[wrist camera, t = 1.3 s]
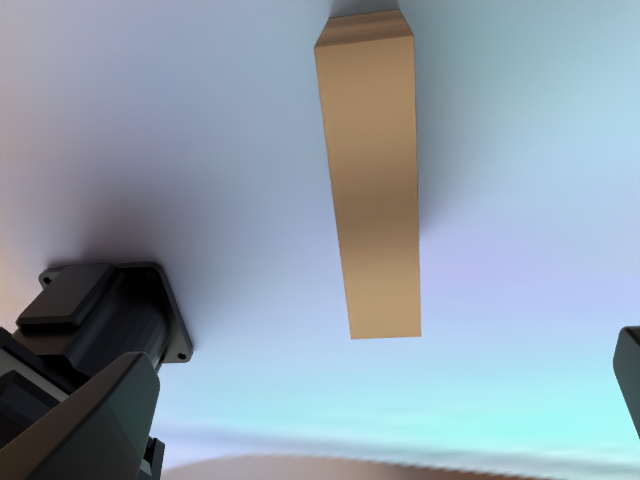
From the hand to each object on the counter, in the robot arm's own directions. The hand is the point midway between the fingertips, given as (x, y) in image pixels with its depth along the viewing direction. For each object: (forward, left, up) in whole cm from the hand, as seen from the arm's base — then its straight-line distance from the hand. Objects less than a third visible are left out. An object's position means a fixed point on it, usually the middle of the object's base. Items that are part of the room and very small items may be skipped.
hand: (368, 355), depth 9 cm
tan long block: (0, 0, -12) cm, 12 cm away
